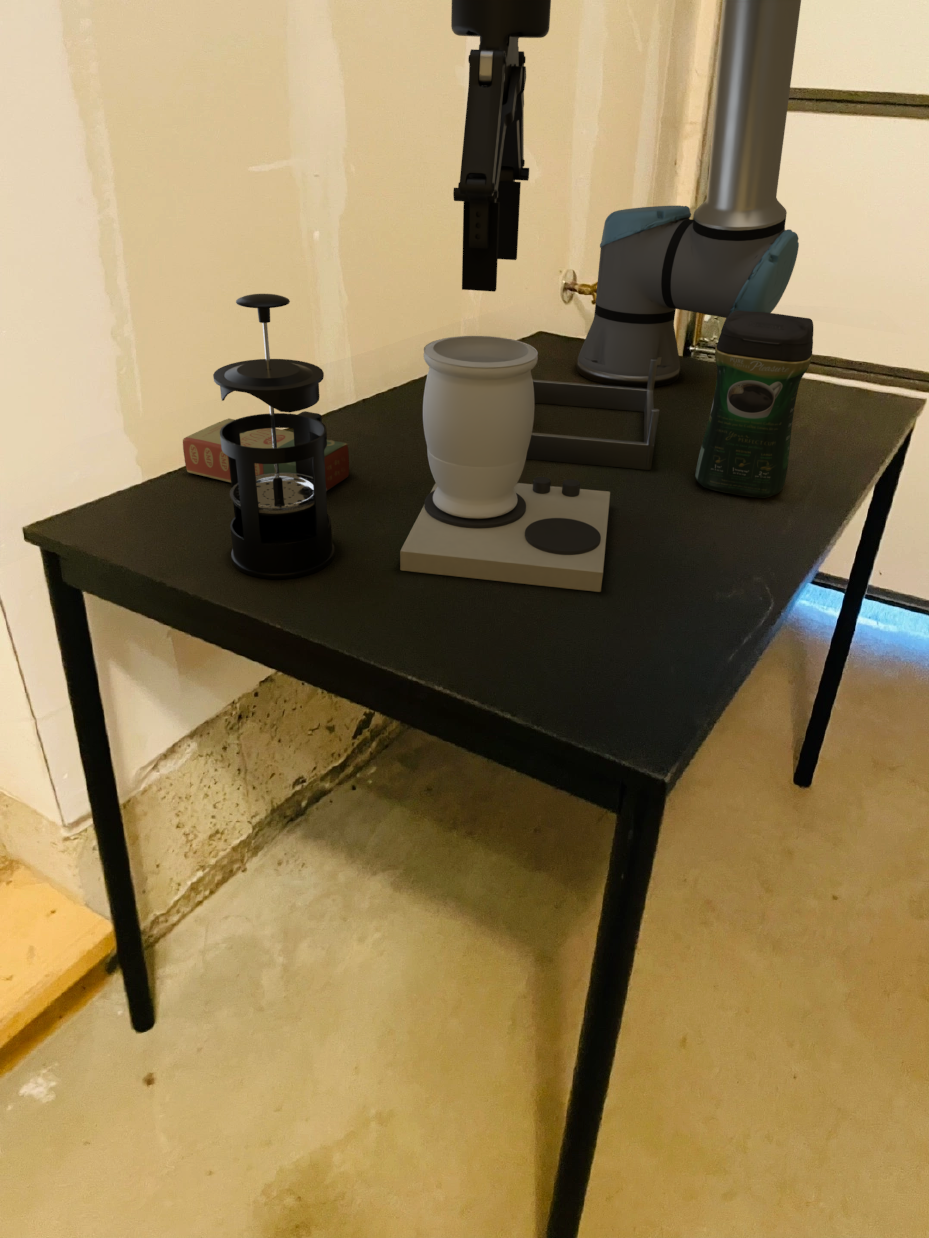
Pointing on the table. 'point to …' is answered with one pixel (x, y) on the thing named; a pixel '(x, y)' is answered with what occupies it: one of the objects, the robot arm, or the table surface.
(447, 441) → the jar
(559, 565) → the stove
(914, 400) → the table surface
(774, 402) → the coffee jar
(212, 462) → the carton
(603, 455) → the rack
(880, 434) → the table surface
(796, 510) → the table surface
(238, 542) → the french press
